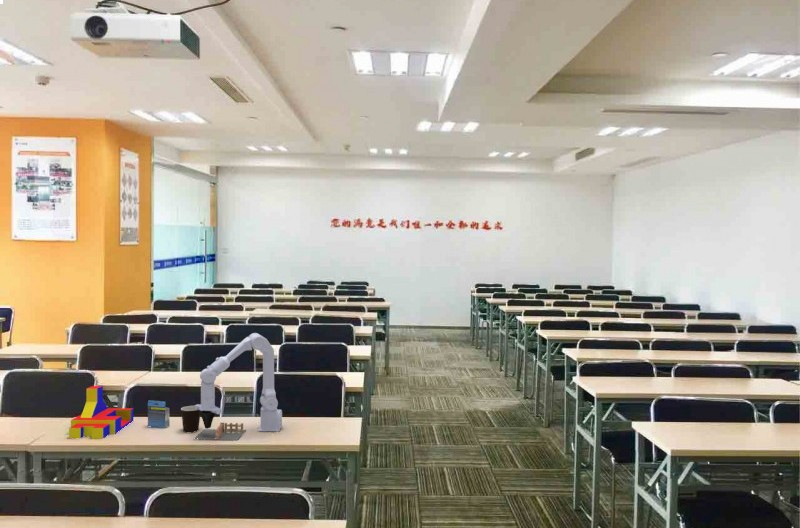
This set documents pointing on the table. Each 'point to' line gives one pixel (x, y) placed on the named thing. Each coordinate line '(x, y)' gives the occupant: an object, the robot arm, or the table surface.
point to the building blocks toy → (99, 417)
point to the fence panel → (219, 431)
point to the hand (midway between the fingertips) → (207, 427)
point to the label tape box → (158, 414)
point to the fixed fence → (231, 427)
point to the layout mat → (211, 435)
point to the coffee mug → (190, 418)
